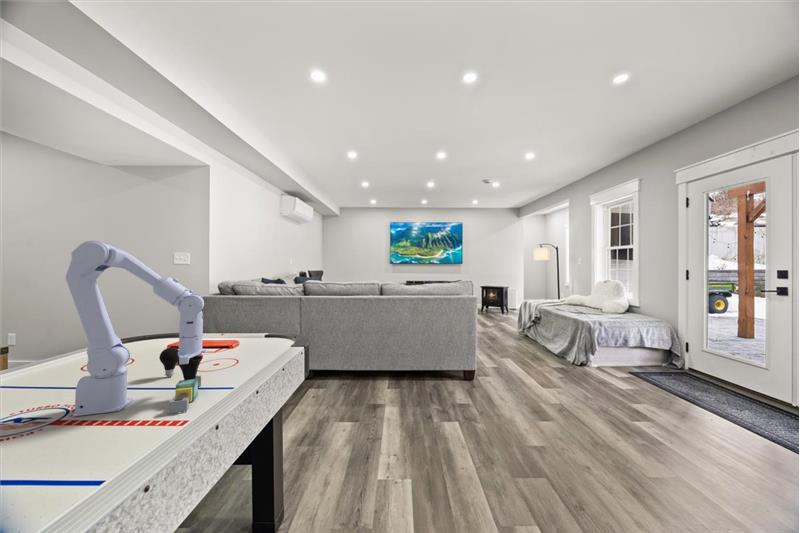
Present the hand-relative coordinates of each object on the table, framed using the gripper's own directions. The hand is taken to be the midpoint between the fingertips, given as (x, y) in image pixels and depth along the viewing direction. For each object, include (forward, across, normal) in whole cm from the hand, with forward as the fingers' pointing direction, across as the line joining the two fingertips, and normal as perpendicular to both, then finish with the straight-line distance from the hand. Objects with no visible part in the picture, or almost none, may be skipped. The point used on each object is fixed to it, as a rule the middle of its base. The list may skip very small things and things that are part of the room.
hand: (189, 382), depth 91 cm
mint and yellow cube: (+4, -3, 0) cm, 5 cm away
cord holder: (+4, -2, 0) cm, 4 cm away
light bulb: (+4, +22, +11) cm, 25 cm away
